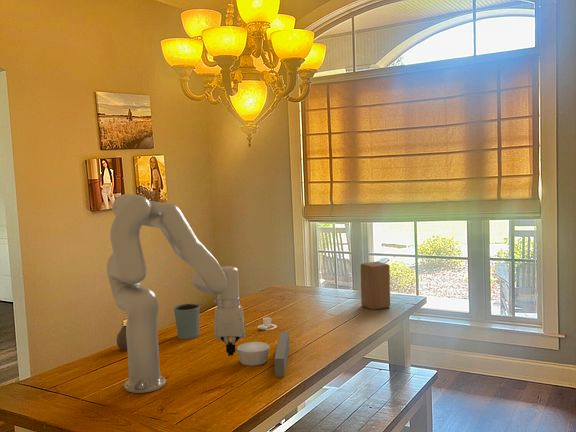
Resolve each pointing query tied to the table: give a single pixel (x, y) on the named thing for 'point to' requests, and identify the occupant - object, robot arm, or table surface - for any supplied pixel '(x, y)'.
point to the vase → (122, 339)
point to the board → (282, 354)
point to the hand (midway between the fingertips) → (231, 354)
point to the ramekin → (253, 353)
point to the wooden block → (375, 285)
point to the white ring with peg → (266, 324)
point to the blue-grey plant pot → (187, 320)
